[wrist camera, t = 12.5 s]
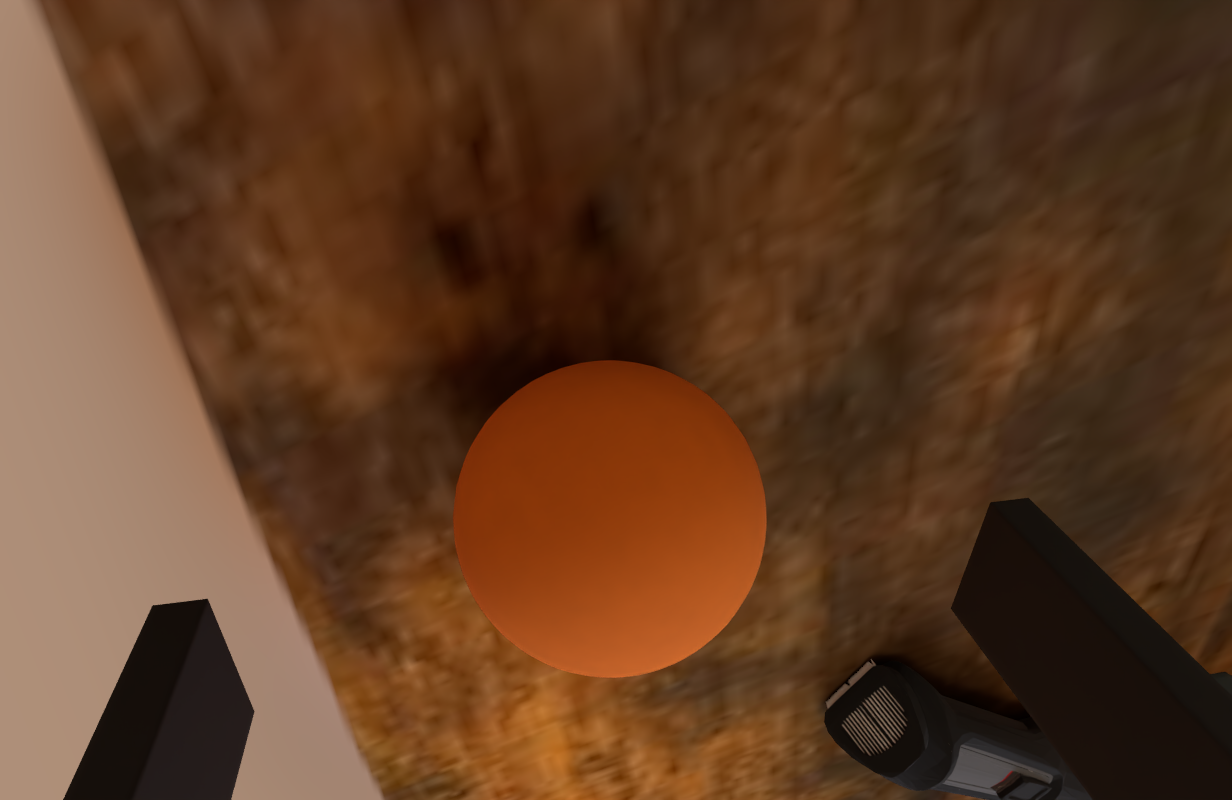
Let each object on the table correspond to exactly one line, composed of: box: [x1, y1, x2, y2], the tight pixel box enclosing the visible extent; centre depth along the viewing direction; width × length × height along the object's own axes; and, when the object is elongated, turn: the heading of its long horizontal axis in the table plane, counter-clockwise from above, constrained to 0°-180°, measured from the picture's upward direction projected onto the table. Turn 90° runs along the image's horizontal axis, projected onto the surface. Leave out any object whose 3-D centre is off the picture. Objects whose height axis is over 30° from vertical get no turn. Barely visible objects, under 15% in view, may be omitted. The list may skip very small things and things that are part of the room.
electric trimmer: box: [824, 659, 1092, 800], centre depth 26 cm, size 4×16×3 cm, turn 58°
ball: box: [453, 360, 767, 678], centre depth 14 cm, size 6×6×6 cm
